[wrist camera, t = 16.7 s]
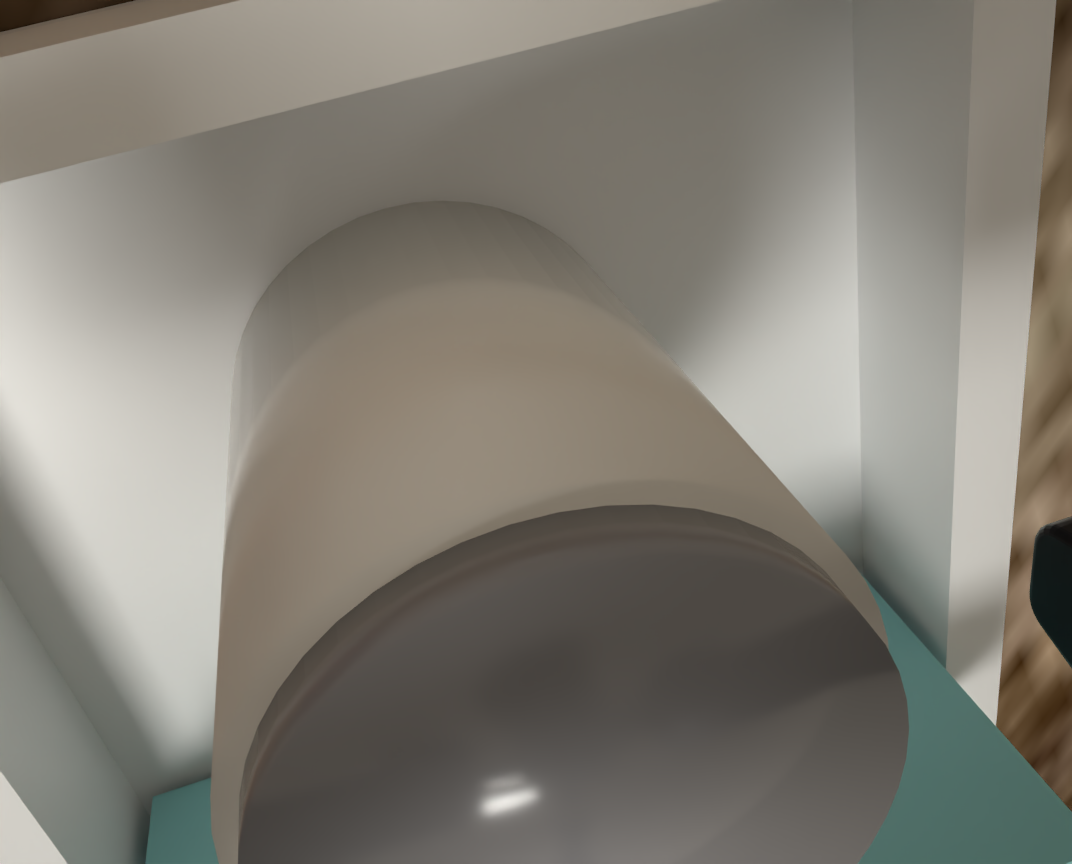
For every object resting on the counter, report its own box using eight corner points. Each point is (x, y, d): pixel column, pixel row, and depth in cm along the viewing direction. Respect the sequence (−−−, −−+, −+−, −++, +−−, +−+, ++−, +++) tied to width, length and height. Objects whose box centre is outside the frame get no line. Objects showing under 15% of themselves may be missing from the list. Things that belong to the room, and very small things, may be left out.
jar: (649, 497, 16) (926, 924, 9) (307, 604, 15) (344, 1144, 8) (593, 152, 13) (940, 422, 6) (166, 267, 12) (61, 697, 6)
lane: (896, 735, 21) (985, 851, 18) (207, 979, 19) (199, 1145, 17) (901, -182, 12) (1072, -200, 10) (-371, 120, 10) (-574, 195, 8)
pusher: (854, 614, 18) (1093, 904, 13) (180, 842, 16) (148, 1271, 11) (853, 564, 17) (1105, 849, 12) (153, 796, 16) (104, 1228, 11)
